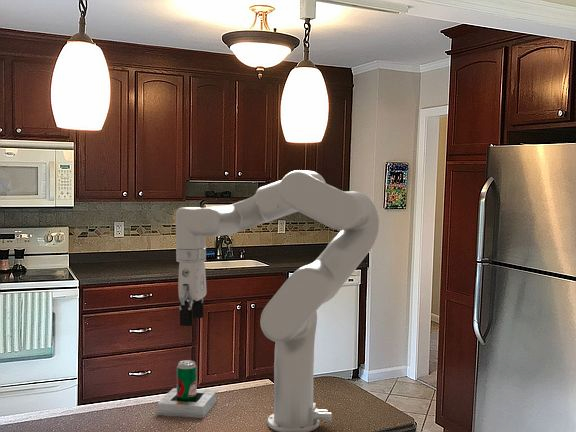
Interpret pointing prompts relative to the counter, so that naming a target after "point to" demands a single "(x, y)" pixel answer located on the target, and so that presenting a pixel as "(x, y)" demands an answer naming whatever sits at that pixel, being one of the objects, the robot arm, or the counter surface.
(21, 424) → the counter surface
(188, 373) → the soda can
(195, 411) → the plate
